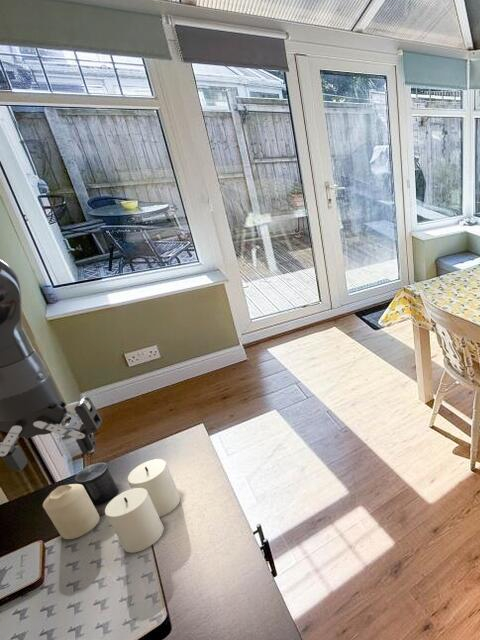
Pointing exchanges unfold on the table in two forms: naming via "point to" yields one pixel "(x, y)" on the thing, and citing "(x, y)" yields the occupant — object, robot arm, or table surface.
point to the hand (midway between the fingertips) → (56, 458)
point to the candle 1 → (71, 510)
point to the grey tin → (97, 483)
